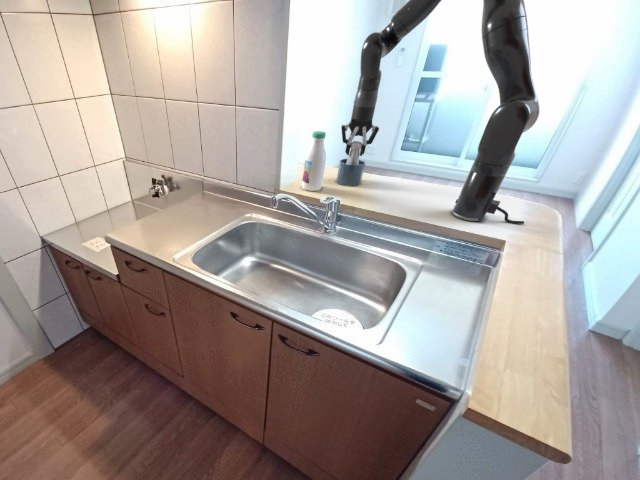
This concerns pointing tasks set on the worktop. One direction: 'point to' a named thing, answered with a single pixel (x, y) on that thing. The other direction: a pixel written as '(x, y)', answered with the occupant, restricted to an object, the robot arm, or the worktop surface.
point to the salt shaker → (354, 153)
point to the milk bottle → (314, 163)
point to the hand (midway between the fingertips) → (354, 154)
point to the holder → (350, 173)
